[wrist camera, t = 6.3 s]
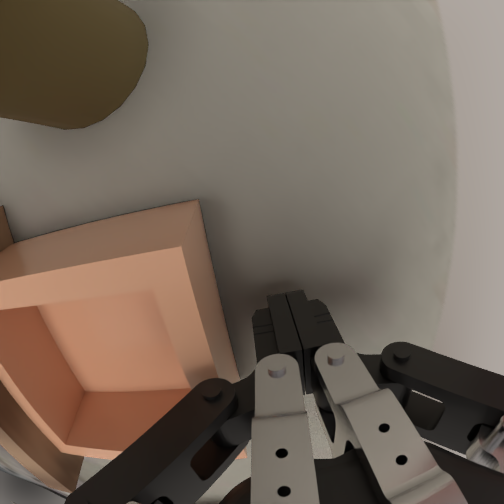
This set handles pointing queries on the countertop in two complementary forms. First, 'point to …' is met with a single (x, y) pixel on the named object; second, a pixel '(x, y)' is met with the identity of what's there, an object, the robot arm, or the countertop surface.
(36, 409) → the terracotta holder
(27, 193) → the countertop surface
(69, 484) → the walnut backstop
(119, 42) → the cork
